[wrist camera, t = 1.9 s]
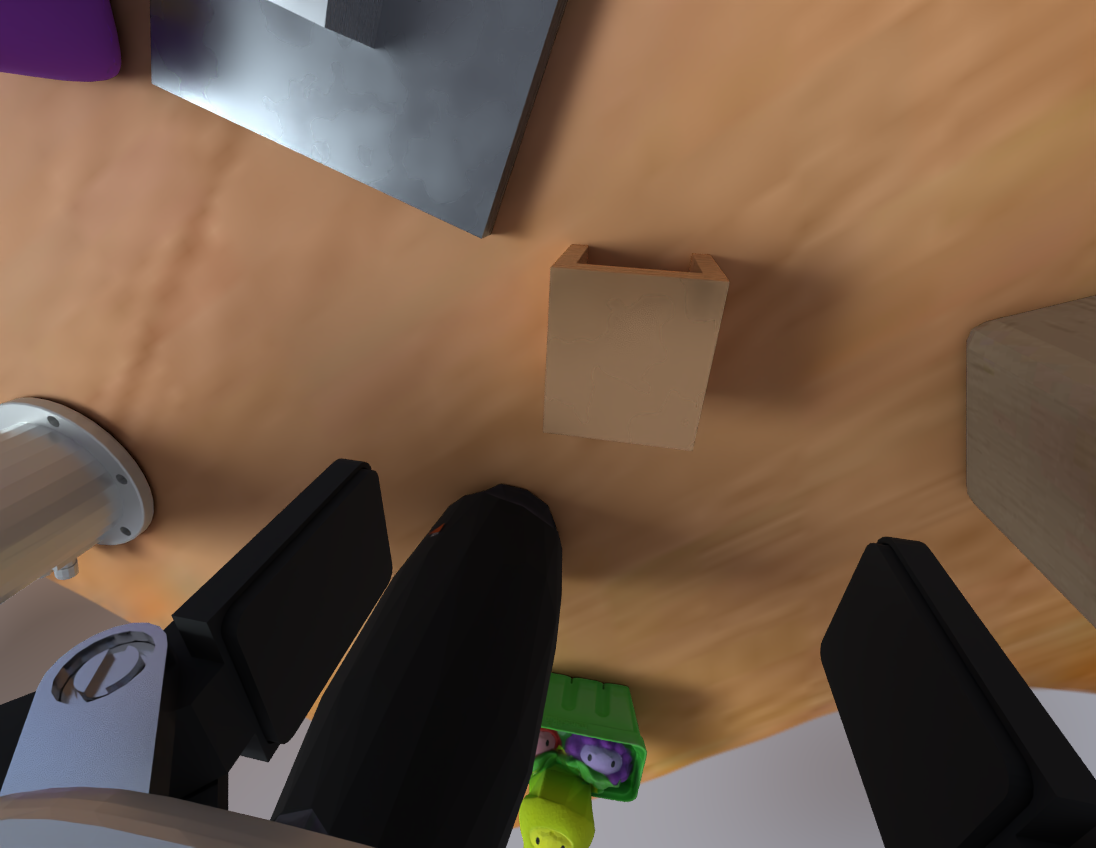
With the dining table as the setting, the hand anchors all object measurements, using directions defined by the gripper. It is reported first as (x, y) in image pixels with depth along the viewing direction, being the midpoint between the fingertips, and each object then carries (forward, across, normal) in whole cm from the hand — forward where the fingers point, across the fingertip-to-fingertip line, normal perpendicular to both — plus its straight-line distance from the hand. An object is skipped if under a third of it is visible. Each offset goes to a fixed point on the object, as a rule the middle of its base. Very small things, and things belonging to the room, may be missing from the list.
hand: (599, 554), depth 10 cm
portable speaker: (+17, +6, +15) cm, 24 cm away
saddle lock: (+17, 0, 0) cm, 17 cm away
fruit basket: (+17, +1, +32) cm, 36 cm away
